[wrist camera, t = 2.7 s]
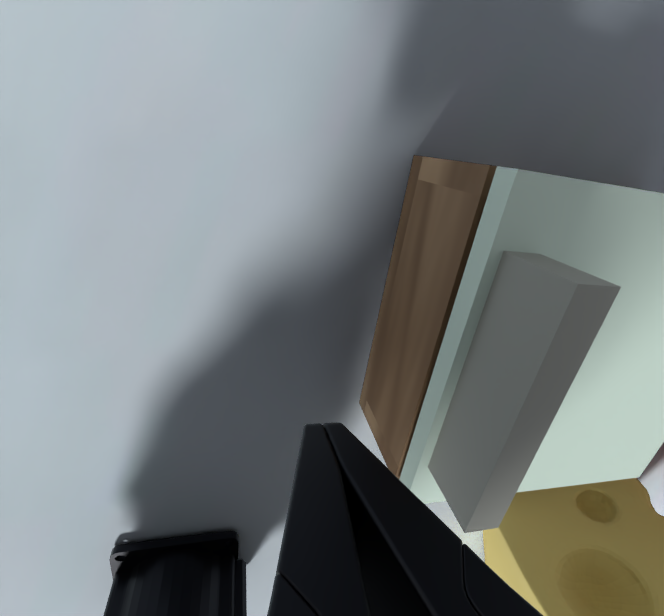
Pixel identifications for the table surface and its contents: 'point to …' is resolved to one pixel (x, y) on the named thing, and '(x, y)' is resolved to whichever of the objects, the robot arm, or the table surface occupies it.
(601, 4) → the table surface
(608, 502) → the cheese
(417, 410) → the walnut box
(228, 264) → the table surface
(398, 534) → the robot arm
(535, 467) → the lid
